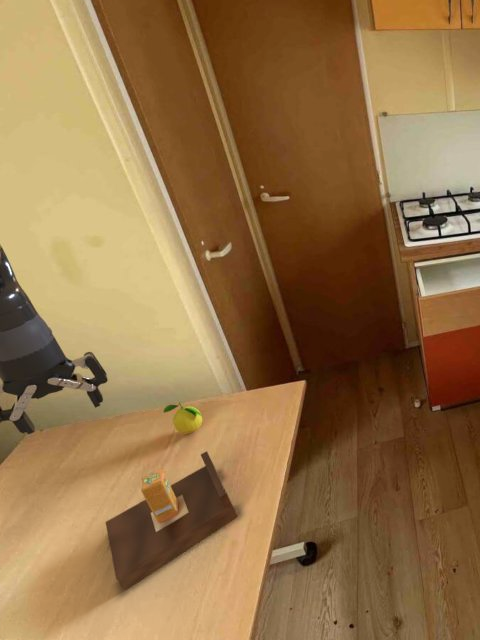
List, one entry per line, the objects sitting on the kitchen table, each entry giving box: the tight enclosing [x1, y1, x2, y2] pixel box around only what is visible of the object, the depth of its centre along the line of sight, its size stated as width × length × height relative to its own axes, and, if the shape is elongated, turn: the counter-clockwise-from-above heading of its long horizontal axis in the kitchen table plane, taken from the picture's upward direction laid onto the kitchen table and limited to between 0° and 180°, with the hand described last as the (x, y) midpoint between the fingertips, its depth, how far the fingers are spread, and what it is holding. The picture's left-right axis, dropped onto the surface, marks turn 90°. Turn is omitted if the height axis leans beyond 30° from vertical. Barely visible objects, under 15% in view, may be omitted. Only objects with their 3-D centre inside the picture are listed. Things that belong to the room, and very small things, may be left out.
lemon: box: [163, 400, 203, 434], centre depth 103 cm, size 7×6×10 cm
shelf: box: [105, 451, 239, 591], centre depth 83 cm, size 18×14×8 cm
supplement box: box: [140, 469, 179, 523], centre depth 80 cm, size 3×3×10 cm
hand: (66, 417), depth 75 cm, fingers open, 8 cm apart
